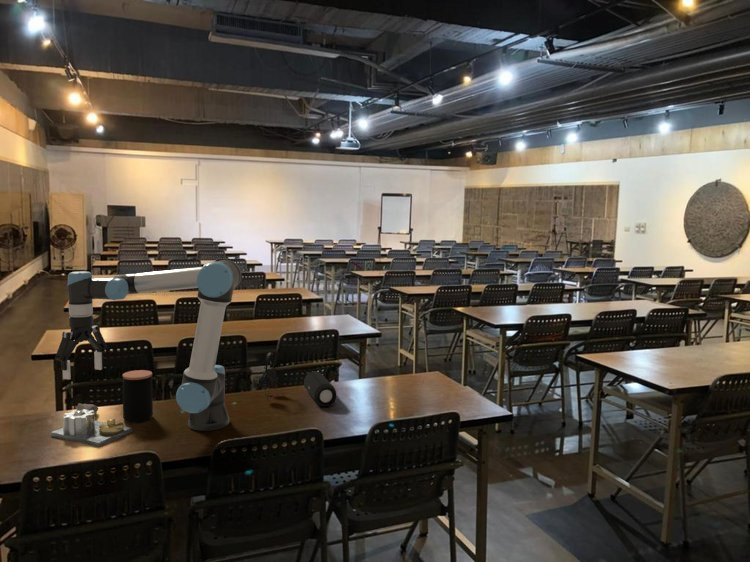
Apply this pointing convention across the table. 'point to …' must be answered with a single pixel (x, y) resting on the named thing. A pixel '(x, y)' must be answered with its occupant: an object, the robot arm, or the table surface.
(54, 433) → the carrier
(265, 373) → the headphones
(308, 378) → the portable speaker
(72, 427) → the planet gear
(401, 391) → the table surface
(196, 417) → the robot arm
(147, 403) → the coffee jar
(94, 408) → the stone
